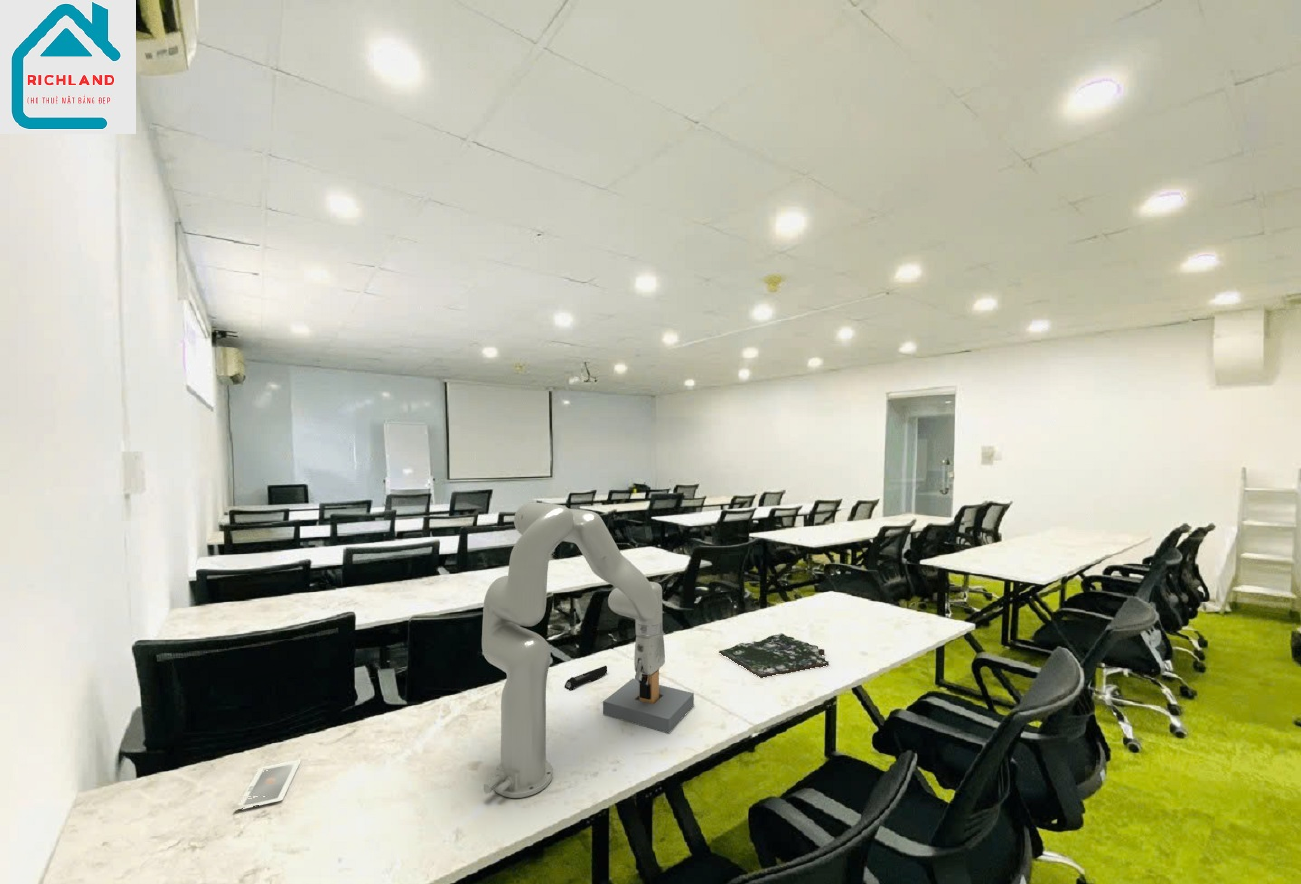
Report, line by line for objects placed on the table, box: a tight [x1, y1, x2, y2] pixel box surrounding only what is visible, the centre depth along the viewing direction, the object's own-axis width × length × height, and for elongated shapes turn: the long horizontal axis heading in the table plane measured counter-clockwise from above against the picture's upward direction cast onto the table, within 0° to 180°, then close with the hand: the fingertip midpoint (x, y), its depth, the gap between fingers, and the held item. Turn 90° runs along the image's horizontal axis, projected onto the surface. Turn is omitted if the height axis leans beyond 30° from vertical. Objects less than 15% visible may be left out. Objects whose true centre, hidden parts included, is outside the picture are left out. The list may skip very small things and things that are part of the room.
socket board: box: [602, 678, 695, 734], centre depth 136 cm, size 16×20×4 cm
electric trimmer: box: [564, 665, 608, 691], centre depth 154 cm, size 4×16×3 cm, turn 135°
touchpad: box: [237, 758, 302, 810], centre depth 105 cm, size 8×15×2 cm, turn 23°
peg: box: [639, 669, 660, 704], centre depth 136 cm, size 4×4×8 cm
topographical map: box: [718, 632, 830, 679], centre depth 172 cm, size 26×33×3 cm
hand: (649, 694), depth 136 cm, fingers closed on peg, 3 cm apart
